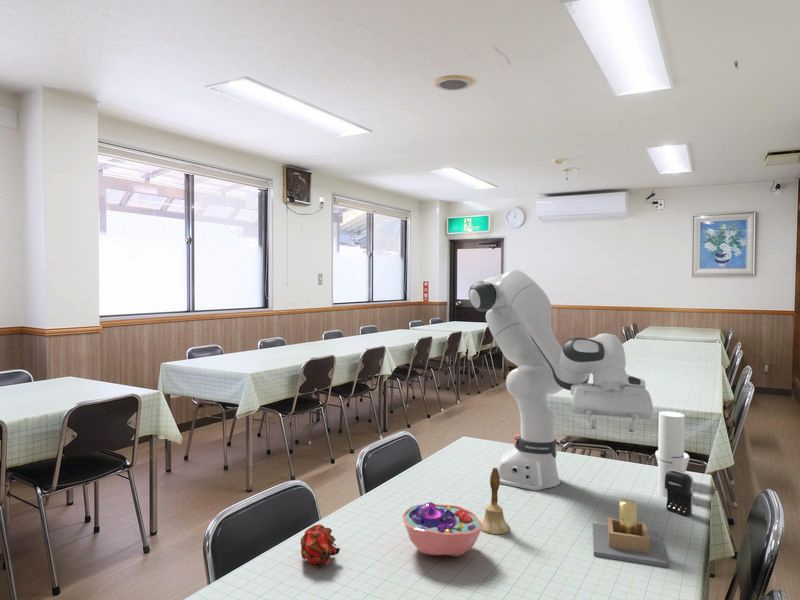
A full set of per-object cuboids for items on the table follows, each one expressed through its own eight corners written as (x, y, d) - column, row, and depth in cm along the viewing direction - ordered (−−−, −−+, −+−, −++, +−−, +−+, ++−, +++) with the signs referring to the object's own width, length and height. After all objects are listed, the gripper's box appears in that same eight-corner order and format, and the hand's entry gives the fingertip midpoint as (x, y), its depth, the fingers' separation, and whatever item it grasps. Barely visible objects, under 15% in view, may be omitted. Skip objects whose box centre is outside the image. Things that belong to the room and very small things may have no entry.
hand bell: (490, 517, 148) (490, 461, 147) (515, 527, 142) (516, 468, 141) (472, 527, 142) (472, 468, 141) (497, 538, 136) (498, 476, 135)
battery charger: (662, 509, 153) (662, 470, 153) (669, 506, 155) (670, 467, 155) (686, 518, 147) (687, 477, 147) (693, 515, 149) (694, 475, 149)
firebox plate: (593, 555, 127) (593, 537, 127) (592, 527, 142) (593, 510, 142) (667, 567, 121) (668, 548, 121) (658, 536, 137) (659, 519, 136)
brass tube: (619, 544, 130) (620, 504, 130) (618, 537, 134) (618, 498, 134) (637, 546, 129) (637, 506, 129) (635, 539, 133) (635, 499, 133)
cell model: (464, 579, 116) (464, 529, 116) (388, 555, 127) (388, 508, 127) (493, 547, 131) (493, 502, 131) (422, 528, 141) (422, 486, 141)
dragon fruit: (313, 553, 131) (328, 585, 120) (286, 540, 127) (299, 572, 117) (334, 524, 132) (350, 552, 121) (307, 510, 128) (322, 539, 118)
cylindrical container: (686, 499, 160) (688, 417, 159) (661, 497, 162) (662, 416, 161) (679, 490, 167) (680, 411, 166) (655, 488, 169) (656, 410, 168)
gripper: (570, 376, 148) (570, 419, 139) (651, 380, 142) (656, 426, 133) (570, 388, 152) (570, 431, 143) (648, 393, 146) (653, 438, 137)
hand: (612, 429), depth 138 cm, fingers open, 8 cm apart
